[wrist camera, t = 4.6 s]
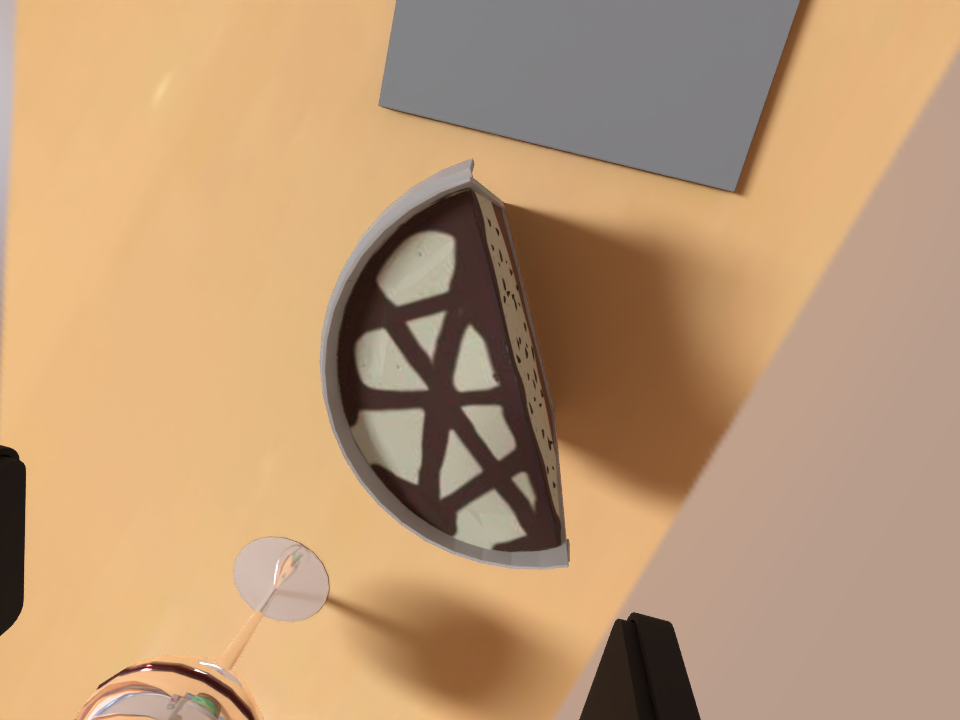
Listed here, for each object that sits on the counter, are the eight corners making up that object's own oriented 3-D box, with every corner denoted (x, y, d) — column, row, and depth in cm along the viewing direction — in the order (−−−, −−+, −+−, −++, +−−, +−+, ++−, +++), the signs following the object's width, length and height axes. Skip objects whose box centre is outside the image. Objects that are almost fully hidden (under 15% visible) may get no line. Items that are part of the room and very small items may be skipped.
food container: (351, 204, 26) (237, 219, 16) (494, 164, 25) (464, 155, 15) (431, 469, 29) (376, 614, 19) (562, 443, 28) (572, 582, 18)
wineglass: (235, 640, 33) (69, 890, 21) (200, 526, 31) (-2, 732, 19) (358, 632, 32) (254, 889, 20) (330, 514, 30) (198, 722, 18)
